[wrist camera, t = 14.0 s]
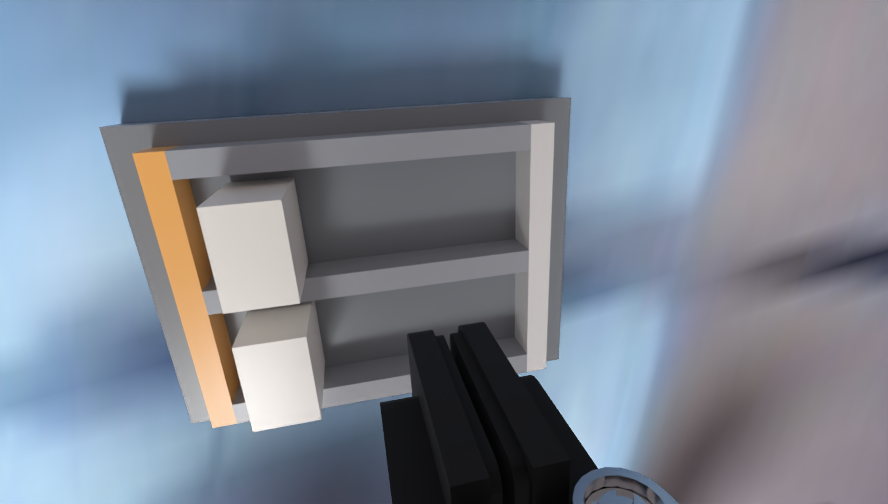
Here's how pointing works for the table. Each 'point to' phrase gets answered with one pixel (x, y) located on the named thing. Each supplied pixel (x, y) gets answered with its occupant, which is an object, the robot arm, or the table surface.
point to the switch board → (361, 233)
